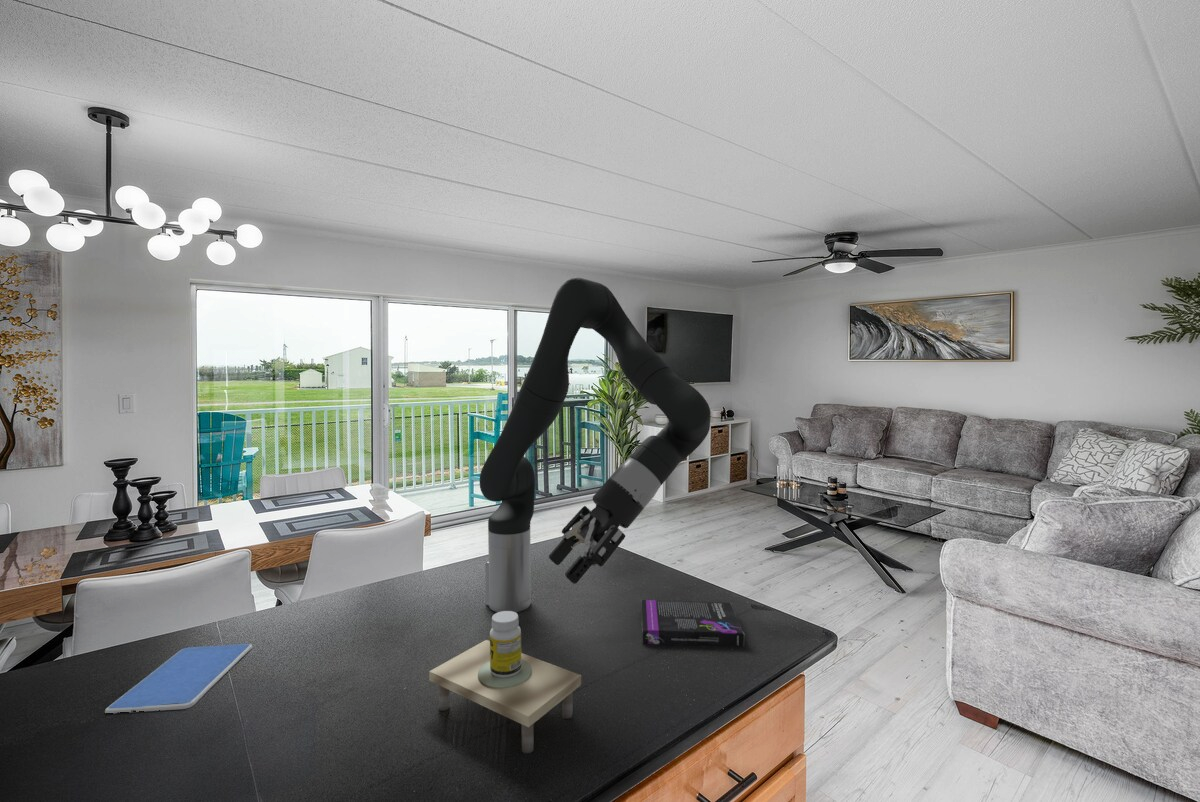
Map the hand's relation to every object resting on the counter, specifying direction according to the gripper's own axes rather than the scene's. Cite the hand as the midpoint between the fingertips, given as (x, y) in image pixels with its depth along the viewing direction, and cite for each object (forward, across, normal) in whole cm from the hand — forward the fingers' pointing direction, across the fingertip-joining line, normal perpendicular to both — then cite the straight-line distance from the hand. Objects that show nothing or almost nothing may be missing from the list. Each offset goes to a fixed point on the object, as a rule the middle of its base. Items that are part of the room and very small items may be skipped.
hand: (560, 570), depth 86 cm
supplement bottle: (+16, 0, +4) cm, 17 cm away
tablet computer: (+56, -30, -25) cm, 68 cm away
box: (-7, -13, +38) cm, 40 cm away
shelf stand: (+21, 0, +8) cm, 23 cm away
